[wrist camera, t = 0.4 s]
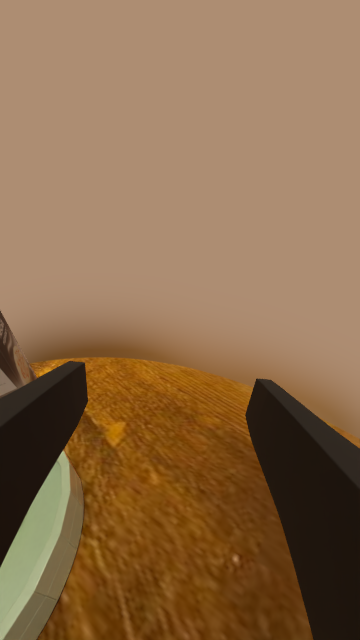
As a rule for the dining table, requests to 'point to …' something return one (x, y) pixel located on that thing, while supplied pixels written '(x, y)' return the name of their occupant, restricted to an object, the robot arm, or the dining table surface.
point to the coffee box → (12, 362)
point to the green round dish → (41, 554)
